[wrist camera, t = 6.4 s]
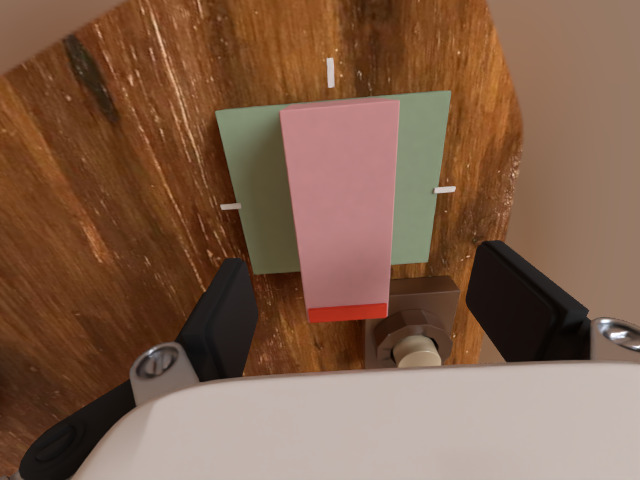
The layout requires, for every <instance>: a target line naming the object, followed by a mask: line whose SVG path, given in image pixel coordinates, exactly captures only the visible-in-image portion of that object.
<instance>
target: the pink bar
mask: <svg viewBox="0 0 640 480" xmlns="http://www.w3.org/2000/svg"><path fill="white" fill-rule="evenodd" d="M399 109H400V101H399V100H394V99H384V98H374V97H373V98H362V99H351V100H339V101H328V102H317V103H306V104H294V105H289V106H288V107H286V108H284V109H282V110H280V111H279V118H280V125H281V132H282V140H283V147H284V154H285V161H286V168H287V176H288V183H289V190H290V197H291V205H292V212H293V219H294V226H295V234H296V241H297V248H298V255H299V263H300V270H301V277H302V284H303V292H304V299H305V306H306V313H307V320H308V322H310V323H318V322H332V321H346V320H361V319H375V318H386V317H387V316H388V302H389V285H390V267H391V249H392V232H393V214H394V197H395V179H396V161H397V144H398V126H399Z"/></svg>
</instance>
